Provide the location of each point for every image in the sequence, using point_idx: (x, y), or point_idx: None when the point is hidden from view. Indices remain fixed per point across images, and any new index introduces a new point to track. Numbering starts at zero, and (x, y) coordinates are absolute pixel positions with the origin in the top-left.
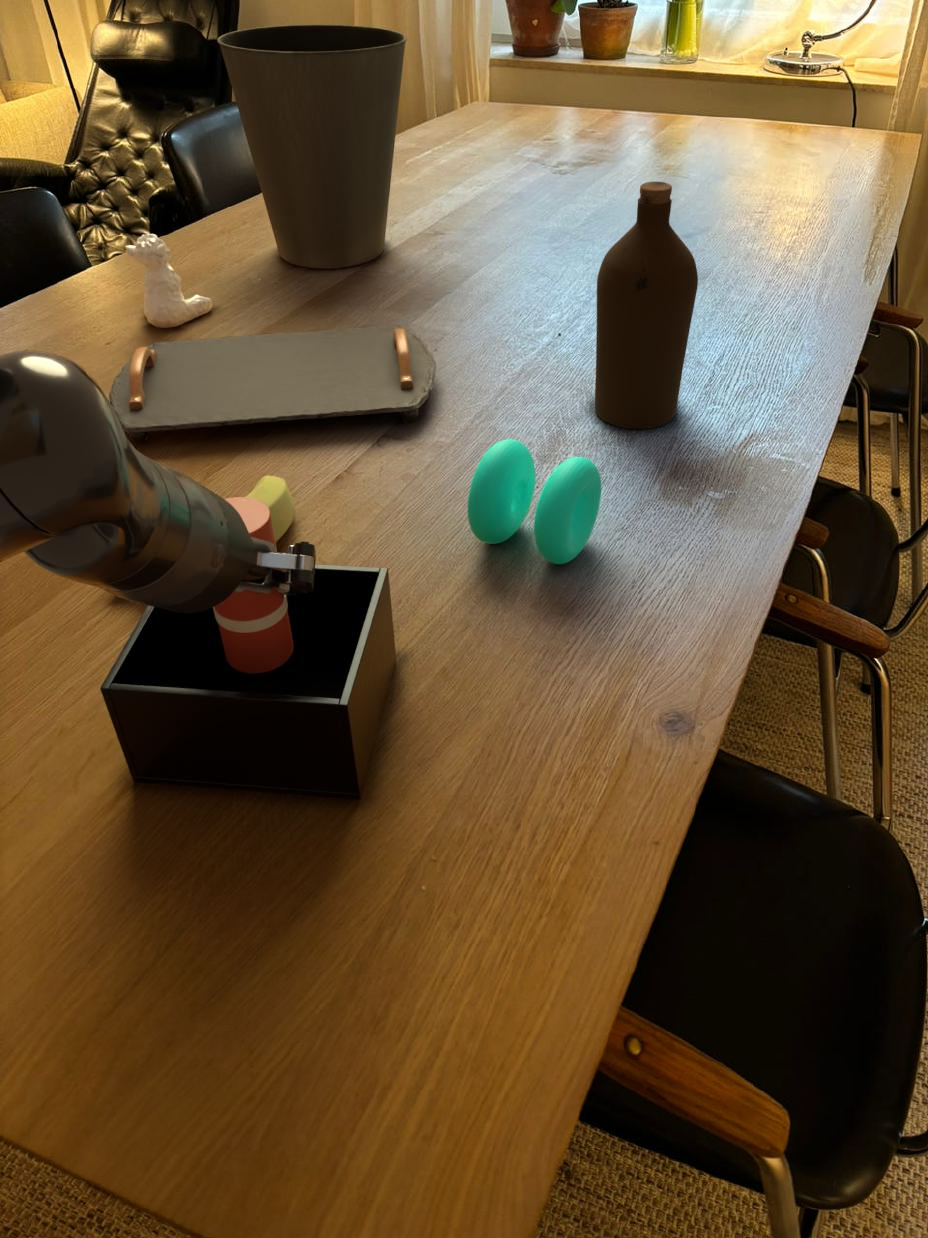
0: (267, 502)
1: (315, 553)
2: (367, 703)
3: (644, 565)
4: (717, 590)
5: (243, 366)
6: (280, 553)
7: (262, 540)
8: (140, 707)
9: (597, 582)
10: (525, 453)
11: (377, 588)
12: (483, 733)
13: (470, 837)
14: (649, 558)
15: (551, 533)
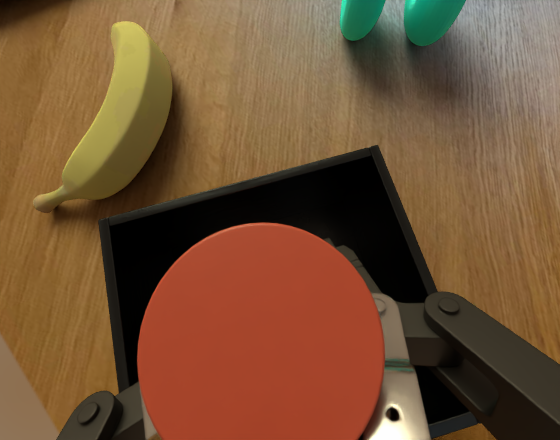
0: (143, 63)
1: (515, 334)
2: None
3: (479, 22)
4: (546, 31)
5: None
6: (405, 345)
7: (426, 424)
8: None
9: (454, 53)
10: None
11: (388, 185)
12: (459, 250)
13: None
14: (478, 14)
15: (450, 17)
